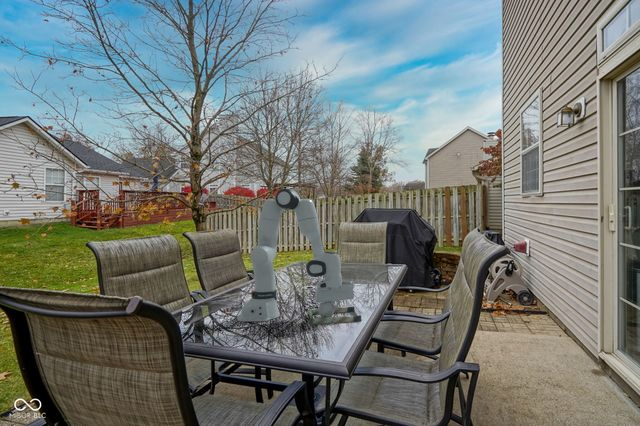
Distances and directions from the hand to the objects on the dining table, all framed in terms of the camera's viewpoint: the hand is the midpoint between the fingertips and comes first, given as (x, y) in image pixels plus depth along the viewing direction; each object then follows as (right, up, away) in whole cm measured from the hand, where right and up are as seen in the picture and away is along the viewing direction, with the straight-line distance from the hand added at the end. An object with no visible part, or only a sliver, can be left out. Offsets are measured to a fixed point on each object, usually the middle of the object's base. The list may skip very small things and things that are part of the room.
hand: (335, 309), depth 182 cm
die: (-4, -4, 0) cm, 6 cm away
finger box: (-1, -4, 0) cm, 4 cm away
